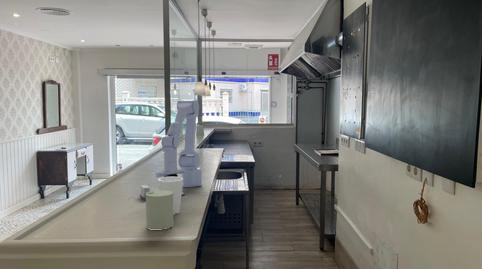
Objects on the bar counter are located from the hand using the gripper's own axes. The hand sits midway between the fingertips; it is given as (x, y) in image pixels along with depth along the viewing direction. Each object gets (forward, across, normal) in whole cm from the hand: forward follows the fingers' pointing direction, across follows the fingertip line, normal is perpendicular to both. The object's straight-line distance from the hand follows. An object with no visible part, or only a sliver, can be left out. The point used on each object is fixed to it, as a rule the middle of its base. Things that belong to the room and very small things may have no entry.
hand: (171, 190), depth 164 cm
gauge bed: (+2, +4, -1) cm, 5 cm away
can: (+2, +26, +35) cm, 44 cm away
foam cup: (+2, +15, +24) cm, 28 cm away
